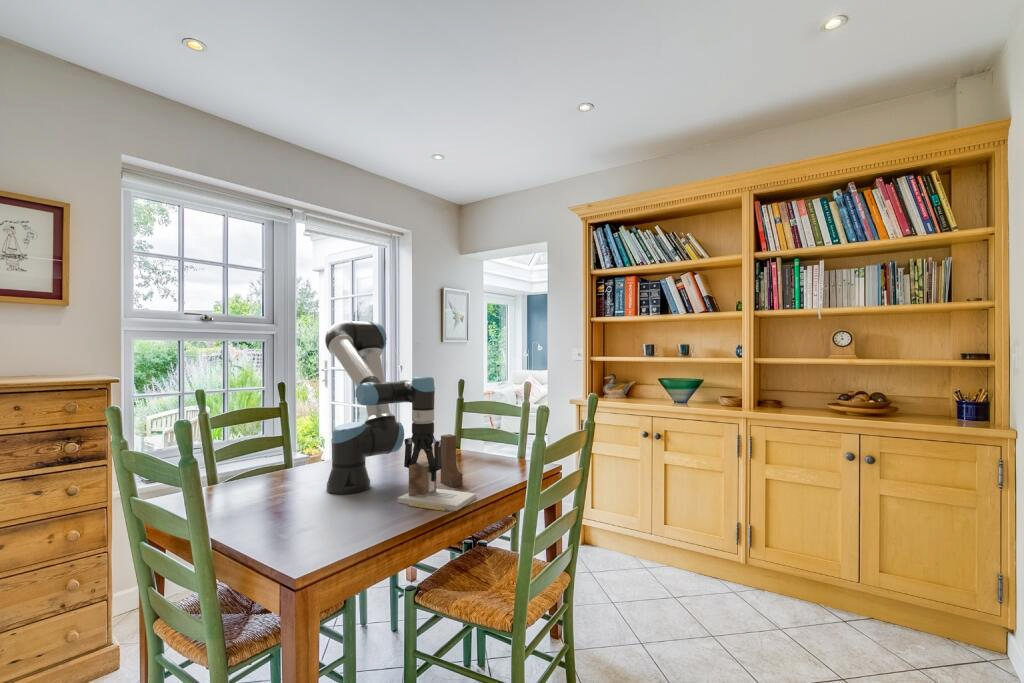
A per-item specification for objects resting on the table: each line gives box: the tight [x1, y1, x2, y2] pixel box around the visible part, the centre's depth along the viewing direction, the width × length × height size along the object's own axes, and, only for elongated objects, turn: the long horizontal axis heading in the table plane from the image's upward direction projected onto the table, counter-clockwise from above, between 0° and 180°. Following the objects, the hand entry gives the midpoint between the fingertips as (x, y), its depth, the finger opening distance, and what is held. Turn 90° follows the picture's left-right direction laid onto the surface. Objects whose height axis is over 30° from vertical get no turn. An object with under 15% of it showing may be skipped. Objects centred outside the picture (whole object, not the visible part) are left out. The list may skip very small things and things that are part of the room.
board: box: [397, 488, 477, 512], centre depth 165 cm, size 22×14×2 cm, turn 69°
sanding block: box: [408, 460, 437, 498], centre depth 167 cm, size 6×8×10 cm
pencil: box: [408, 504, 450, 512], centre depth 156 cm, size 14×1×1 cm, turn 69°
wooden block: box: [440, 433, 463, 488], centre depth 184 cm, size 9×4×18 cm, turn 38°
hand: (422, 489), depth 167 cm, fingers closed on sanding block, 6 cm apart
